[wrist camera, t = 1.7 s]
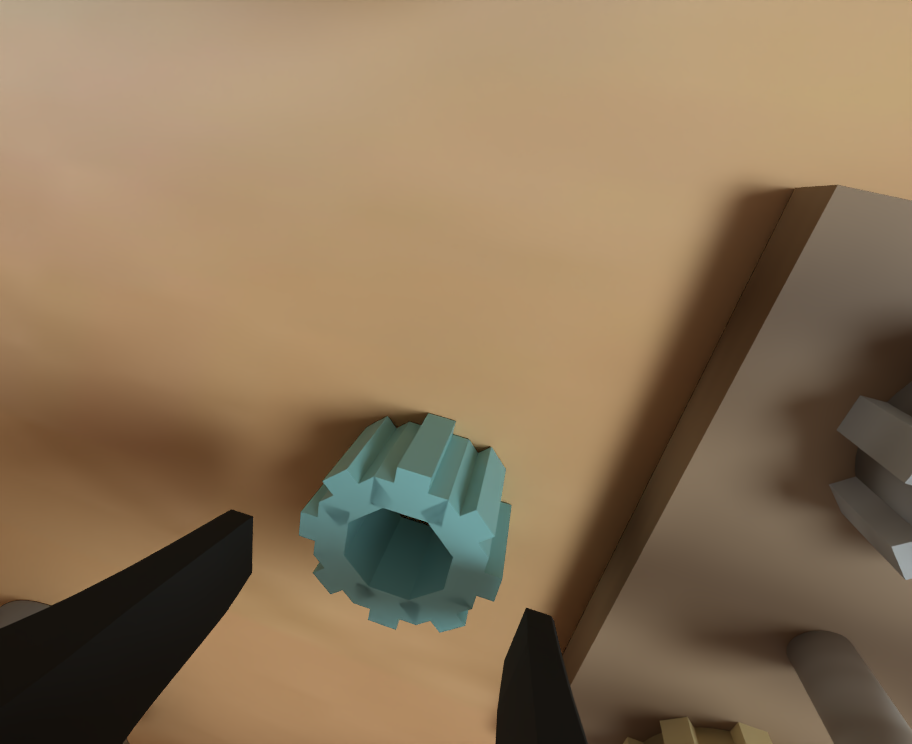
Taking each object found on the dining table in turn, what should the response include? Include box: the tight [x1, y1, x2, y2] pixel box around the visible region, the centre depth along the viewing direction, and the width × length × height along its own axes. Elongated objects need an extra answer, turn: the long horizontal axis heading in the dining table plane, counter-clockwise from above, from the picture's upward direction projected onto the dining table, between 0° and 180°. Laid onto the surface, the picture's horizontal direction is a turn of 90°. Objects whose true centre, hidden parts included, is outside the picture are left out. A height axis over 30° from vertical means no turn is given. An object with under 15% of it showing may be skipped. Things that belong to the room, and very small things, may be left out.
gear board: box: [562, 185, 912, 744], centre depth 10 cm, size 22×11×6 cm, turn 168°
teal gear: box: [299, 413, 511, 632], centre depth 13 cm, size 6×6×3 cm
